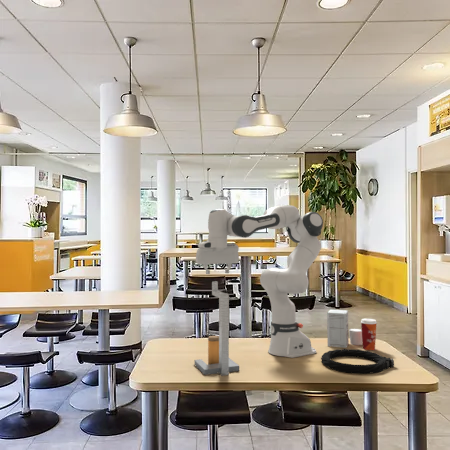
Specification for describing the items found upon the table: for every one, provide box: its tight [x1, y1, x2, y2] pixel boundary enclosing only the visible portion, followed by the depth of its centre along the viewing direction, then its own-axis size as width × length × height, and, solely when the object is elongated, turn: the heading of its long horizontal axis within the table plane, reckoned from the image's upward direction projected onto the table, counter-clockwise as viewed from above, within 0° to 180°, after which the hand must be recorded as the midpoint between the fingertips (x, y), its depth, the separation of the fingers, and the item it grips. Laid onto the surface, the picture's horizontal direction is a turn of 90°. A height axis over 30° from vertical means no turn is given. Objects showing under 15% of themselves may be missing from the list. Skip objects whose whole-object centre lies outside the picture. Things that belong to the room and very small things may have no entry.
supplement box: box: [326, 309, 350, 349], centre depth 226 cm, size 10×9×17 cm
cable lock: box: [320, 348, 395, 375], centre depth 194 cm, size 28×4×30 cm
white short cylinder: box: [348, 328, 363, 346], centre depth 229 cm, size 7×7×7 cm
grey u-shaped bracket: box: [194, 357, 240, 375], centre depth 189 cm, size 15×14×2 cm
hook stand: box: [211, 280, 230, 377], centre depth 186 cm, size 3×14×36 cm, turn 20°
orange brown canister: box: [207, 335, 219, 365], centre depth 192 cm, size 5×5×12 cm
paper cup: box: [360, 317, 378, 351], centre depth 219 cm, size 8×8×14 cm
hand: (217, 273), depth 210 cm, fingers open, 8 cm apart
